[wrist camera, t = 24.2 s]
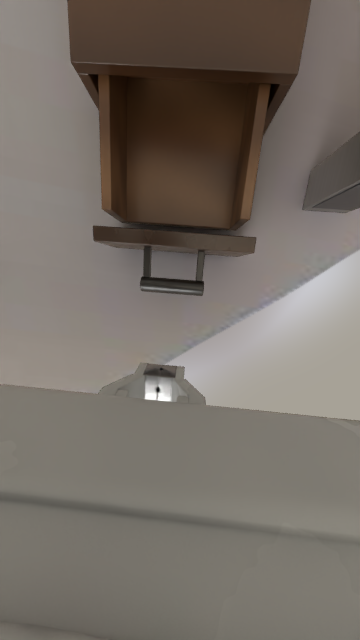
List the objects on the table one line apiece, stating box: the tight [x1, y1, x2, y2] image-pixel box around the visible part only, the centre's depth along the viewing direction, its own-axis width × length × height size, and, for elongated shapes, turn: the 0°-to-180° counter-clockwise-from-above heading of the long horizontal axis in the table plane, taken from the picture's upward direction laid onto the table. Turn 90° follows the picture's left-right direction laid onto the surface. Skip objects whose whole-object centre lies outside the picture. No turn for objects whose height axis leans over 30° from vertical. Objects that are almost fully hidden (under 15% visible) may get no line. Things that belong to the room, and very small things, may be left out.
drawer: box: [93, 74, 271, 296], centre depth 17 cm, size 19×13×5 cm
